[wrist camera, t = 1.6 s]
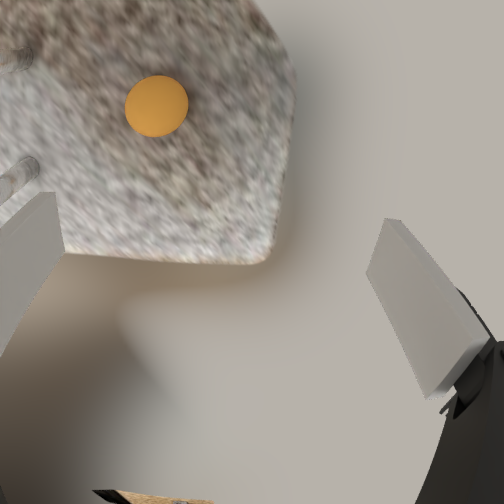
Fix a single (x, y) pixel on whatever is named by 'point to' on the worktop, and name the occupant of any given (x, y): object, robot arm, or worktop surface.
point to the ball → (156, 106)
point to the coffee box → (179, 502)
